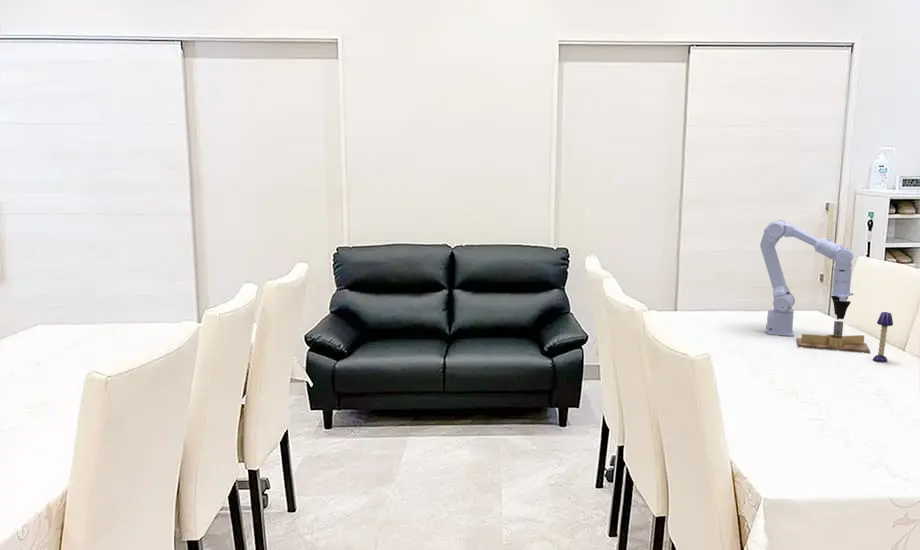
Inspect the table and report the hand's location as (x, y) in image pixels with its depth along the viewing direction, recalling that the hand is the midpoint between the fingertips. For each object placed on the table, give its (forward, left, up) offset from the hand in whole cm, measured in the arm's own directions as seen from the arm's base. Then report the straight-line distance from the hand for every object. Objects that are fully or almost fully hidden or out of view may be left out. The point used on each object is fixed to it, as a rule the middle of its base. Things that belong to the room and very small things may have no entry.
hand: (839, 316), depth 273 cm
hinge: (-3, -12, -8) cm, 14 cm away
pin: (0, 0, -9) cm, 9 cm away
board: (-3, -11, -9) cm, 15 cm away
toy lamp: (+11, -26, -9) cm, 30 cm away
